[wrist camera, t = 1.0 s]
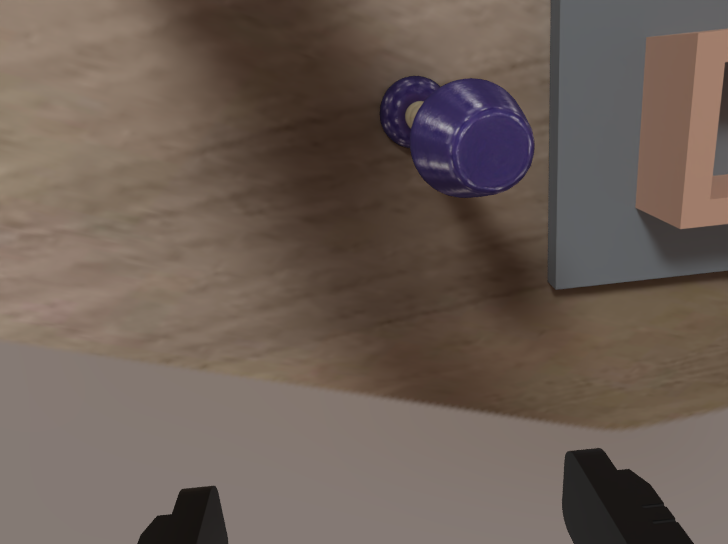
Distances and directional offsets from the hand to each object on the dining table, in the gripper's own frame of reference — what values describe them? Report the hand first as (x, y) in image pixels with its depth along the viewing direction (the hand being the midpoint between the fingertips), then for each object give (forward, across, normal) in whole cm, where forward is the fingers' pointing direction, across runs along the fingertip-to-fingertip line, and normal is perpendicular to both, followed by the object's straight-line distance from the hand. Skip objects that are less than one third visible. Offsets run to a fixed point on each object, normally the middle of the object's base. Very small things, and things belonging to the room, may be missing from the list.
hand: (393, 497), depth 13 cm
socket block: (+26, -23, -4) cm, 34 cm away
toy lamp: (+26, -5, -6) cm, 27 cm away
